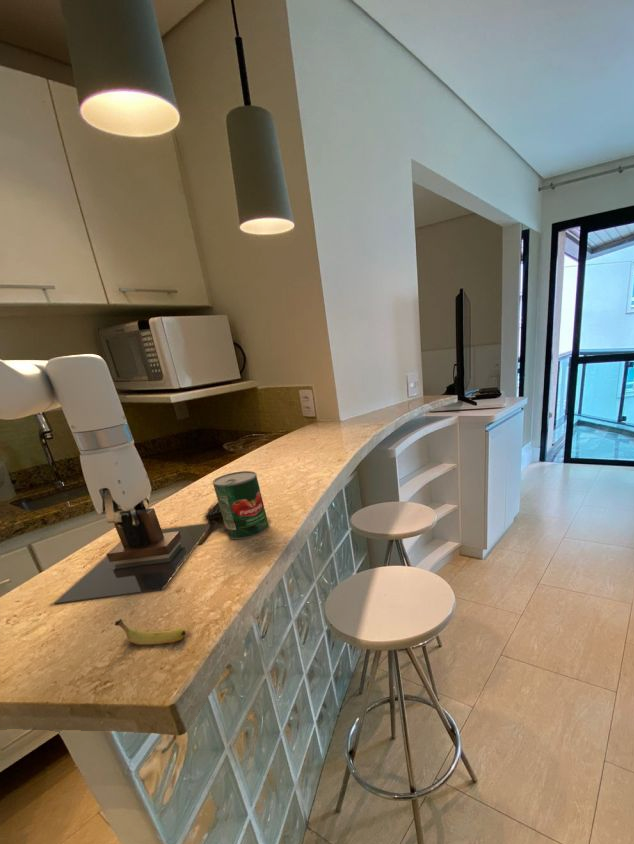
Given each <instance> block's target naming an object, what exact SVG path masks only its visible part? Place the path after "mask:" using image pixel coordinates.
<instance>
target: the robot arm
mask: <svg viewBox="0 0 634 844" xmlns="http://www.w3.org/2000/svg"><path fill="white" fill-rule="evenodd" d="M59 408H61V410H62V412H63V415H64V418H65V419H66V423H67V425H68V427H69V429H70V431H71V434H72V436H73V439H74V441H75V443H76V446H77V449H78V451H79V453H80V454H79V461H80V466H81V471H82V475H83V478H84V481H85V484H86V487H87V490H88V493H89V496H90V498H91V501H92V504H93V507H94V510H95V511H96V513H97V514H98V515H100V516H101V515H105V518H106V522H107V524H114V523H116V524H118V526H119V528H122V530H123V532H124V535H125V537H126V540H127V542H128V545H129V547H130V548H135V547H142V546H148V545H149V540H148V537H147V535H146V532H145V529H144V527H143V524H142V523H141V524H139V520H138V518H137V515H136V512H135V510H143V509H151V508H150V505H149V504H150V498H151V493H152V485H151V482H150V479H149V476H148V473H147V471H146V467H145V465H144V463H143V461H142V458H141V456H140V454H139V452H138V450H137V448H136V446H135V440H134V437H133V435H132V432H131V429H130V426H129V423H128V420H127V417H126V415H125V414H126V413H125V411H124V409H123V405H122V403H121V400H120V397H119V394H118V392H117V390H116V386H115V384H114V381H113V378H112V375H111V372H110V369H109V366H108V364H107V362H106V361H105V359H104V358H103V357H101V356H100V355H97V354H93V353H86V354H85V353H84V354H74V355H73V354H72V355H64V356H57V357H53V358H50V359H48V360H40V359H39V360H35V359H11V360H10V359H8V360H7V359H6V360H5V359H4V360H3V359H1V358H0V420H4V421H7V420H8V421H9V420H10V421H11V420H17V419H22V418H26V417H29V416H33V415H38V414H42V413H45V412H48V411H52V410H56V409H59ZM123 513H128V514H129V516H127V515H122V514H123Z"/></svg>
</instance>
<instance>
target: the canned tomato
mask: <svg viewBox="0 0 634 844" xmlns="http://www.w3.org/2000/svg"><path fill="white" fill-rule="evenodd" d="M259 484H260V483H259V481H258V477H257V473H256V472H255V471H251V470H241V471H235V472H230V473H226V474H222V475H220V476H218V477H215V478H214V479H213V480H212V485H213V489H214V492H215V496H216V500H217V499H218V500H217V503H218V502H219V506H220V509H221V513H222V516H223V517H222V520H223V524H224V527H225V530H226V533H227V537H228V538H229V539H231V540H238V541H239V540H246V539H247V540H248V539H252V538H255V537H258V536H260V535H262V534H264V533H265V532H267V531H268V530H269V527H270V524H269V521H268V518H267V513H266V509H265V505H264V501H263V497H262V496H263V495H262V493H261V488H260V485H259Z"/></svg>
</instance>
